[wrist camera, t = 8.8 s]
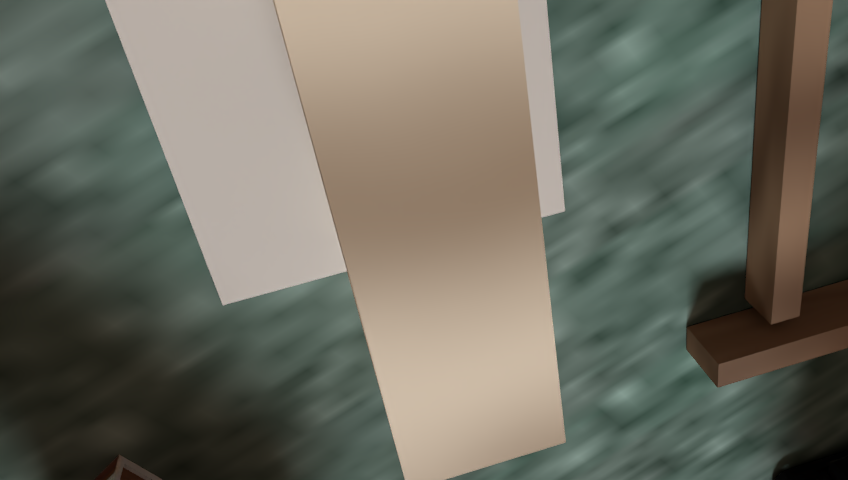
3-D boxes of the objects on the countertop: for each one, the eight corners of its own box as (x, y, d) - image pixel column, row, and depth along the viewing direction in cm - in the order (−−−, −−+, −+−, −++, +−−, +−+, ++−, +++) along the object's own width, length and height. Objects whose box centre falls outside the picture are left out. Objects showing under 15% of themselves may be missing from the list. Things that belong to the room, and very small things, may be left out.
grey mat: (561, 206, 23) (565, 211, 23) (222, 299, 22) (222, 305, 22) (517, -277, 17) (522, -278, 17) (39, -179, 16) (36, -177, 16)
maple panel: (443, 212, 22) (565, 442, 15) (338, 240, 22) (408, 490, 14) (369, -191, 17) (501, -154, 9) (229, -161, 17) (247, -98, 9)
